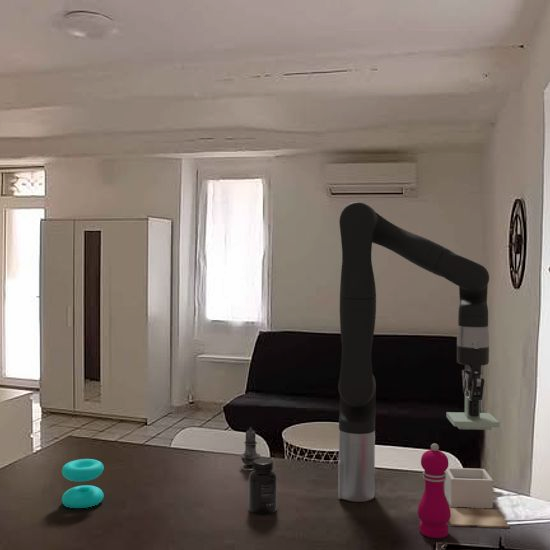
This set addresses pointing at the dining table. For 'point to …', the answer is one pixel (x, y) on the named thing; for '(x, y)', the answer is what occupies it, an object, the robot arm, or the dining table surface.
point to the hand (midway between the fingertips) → (472, 414)
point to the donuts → (85, 493)
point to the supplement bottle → (262, 488)
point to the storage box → (468, 488)
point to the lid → (472, 419)
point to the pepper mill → (434, 495)
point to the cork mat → (477, 518)
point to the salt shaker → (250, 450)
